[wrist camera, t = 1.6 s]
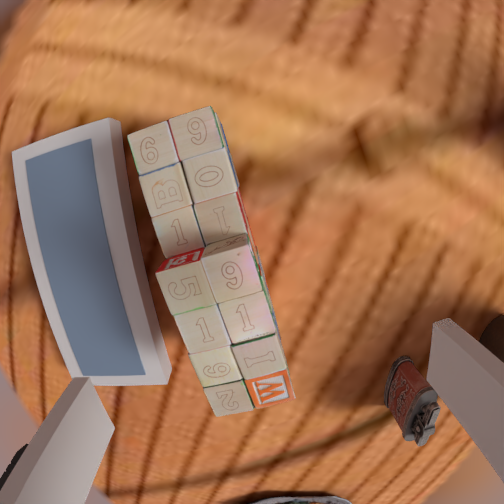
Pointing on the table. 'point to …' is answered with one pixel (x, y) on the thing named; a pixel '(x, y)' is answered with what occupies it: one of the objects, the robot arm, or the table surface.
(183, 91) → the table surface
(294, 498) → the food plate
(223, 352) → the stack of blocks
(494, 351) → the plant pot
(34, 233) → the base board
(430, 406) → the lighter
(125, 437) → the table surface
